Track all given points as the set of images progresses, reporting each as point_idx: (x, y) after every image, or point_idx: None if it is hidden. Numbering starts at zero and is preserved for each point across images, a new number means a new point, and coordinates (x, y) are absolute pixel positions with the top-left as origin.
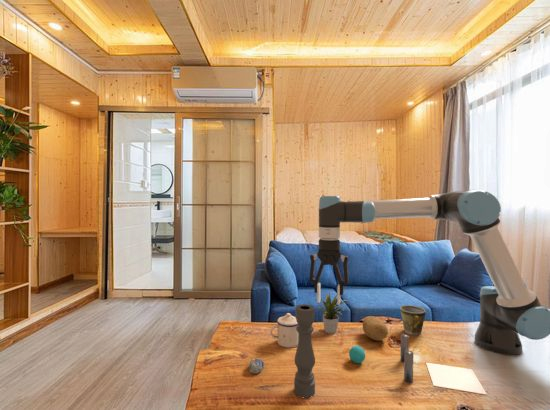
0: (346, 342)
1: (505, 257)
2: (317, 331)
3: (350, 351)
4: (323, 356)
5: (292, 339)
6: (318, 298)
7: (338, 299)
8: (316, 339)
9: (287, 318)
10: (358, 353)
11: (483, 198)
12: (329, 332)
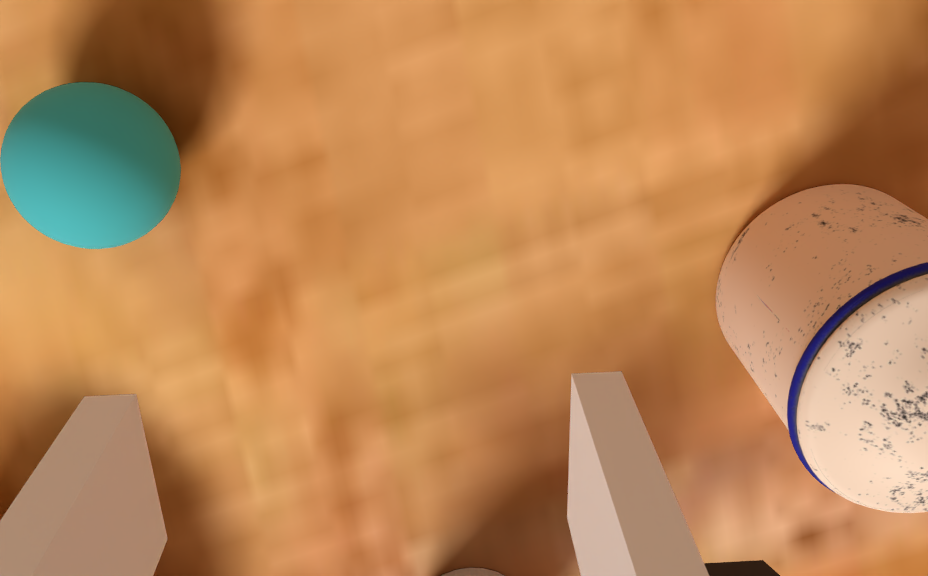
0: (294, 463)
1: None
2: None
3: (143, 141)
4: (445, 143)
5: (799, 233)
6: (612, 433)
7: (57, 474)
8: (566, 428)
9: None
10: (43, 111)
11: None
12: (472, 572)
